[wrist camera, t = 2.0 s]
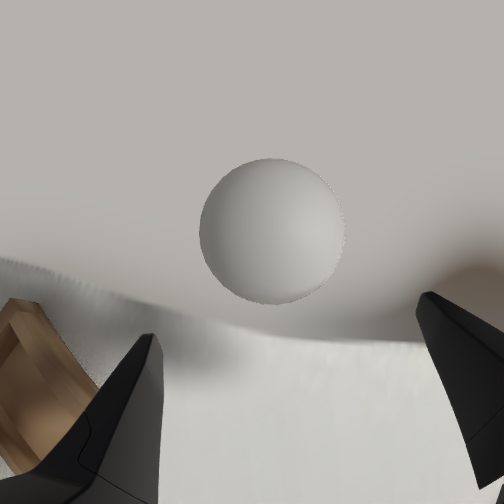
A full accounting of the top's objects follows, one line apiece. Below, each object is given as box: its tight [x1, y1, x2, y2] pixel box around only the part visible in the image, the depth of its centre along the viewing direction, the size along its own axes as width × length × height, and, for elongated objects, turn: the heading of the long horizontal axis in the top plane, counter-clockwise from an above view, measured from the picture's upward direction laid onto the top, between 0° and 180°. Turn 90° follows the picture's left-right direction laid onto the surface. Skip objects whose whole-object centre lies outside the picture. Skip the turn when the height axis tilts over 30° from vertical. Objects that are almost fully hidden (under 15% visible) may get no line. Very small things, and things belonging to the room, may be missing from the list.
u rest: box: [0, 298, 99, 475], centre depth 16 cm, size 11×11×4 cm
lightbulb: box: [199, 159, 345, 305], centre depth 15 cm, size 6×6×11 cm
